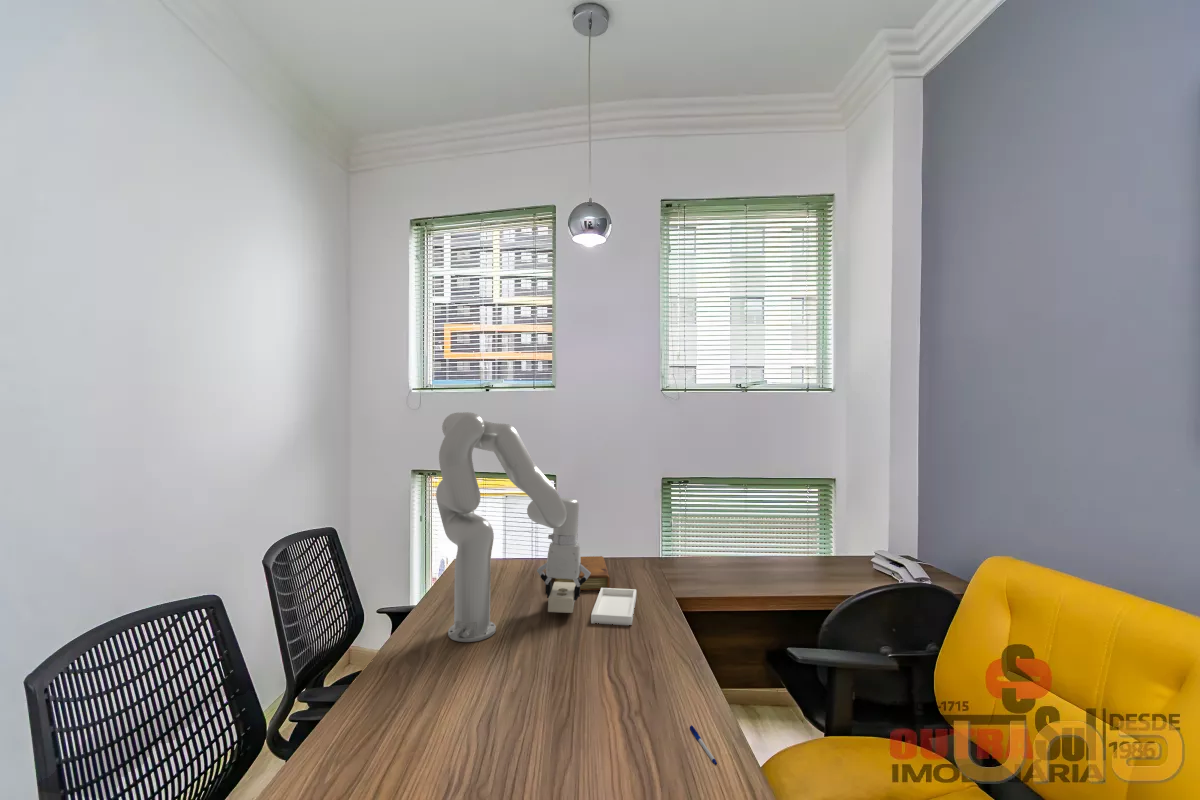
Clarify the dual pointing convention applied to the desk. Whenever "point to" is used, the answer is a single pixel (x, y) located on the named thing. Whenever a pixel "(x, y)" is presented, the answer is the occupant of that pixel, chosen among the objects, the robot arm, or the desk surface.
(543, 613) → the desk surface
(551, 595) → the electrical outlet
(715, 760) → the ballpoint pen
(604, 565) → the diary
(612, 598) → the holder tray
